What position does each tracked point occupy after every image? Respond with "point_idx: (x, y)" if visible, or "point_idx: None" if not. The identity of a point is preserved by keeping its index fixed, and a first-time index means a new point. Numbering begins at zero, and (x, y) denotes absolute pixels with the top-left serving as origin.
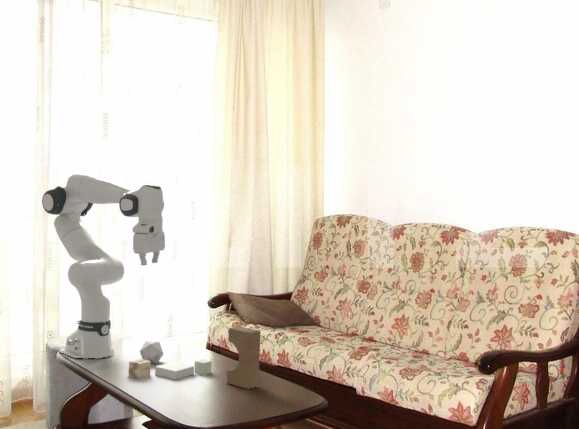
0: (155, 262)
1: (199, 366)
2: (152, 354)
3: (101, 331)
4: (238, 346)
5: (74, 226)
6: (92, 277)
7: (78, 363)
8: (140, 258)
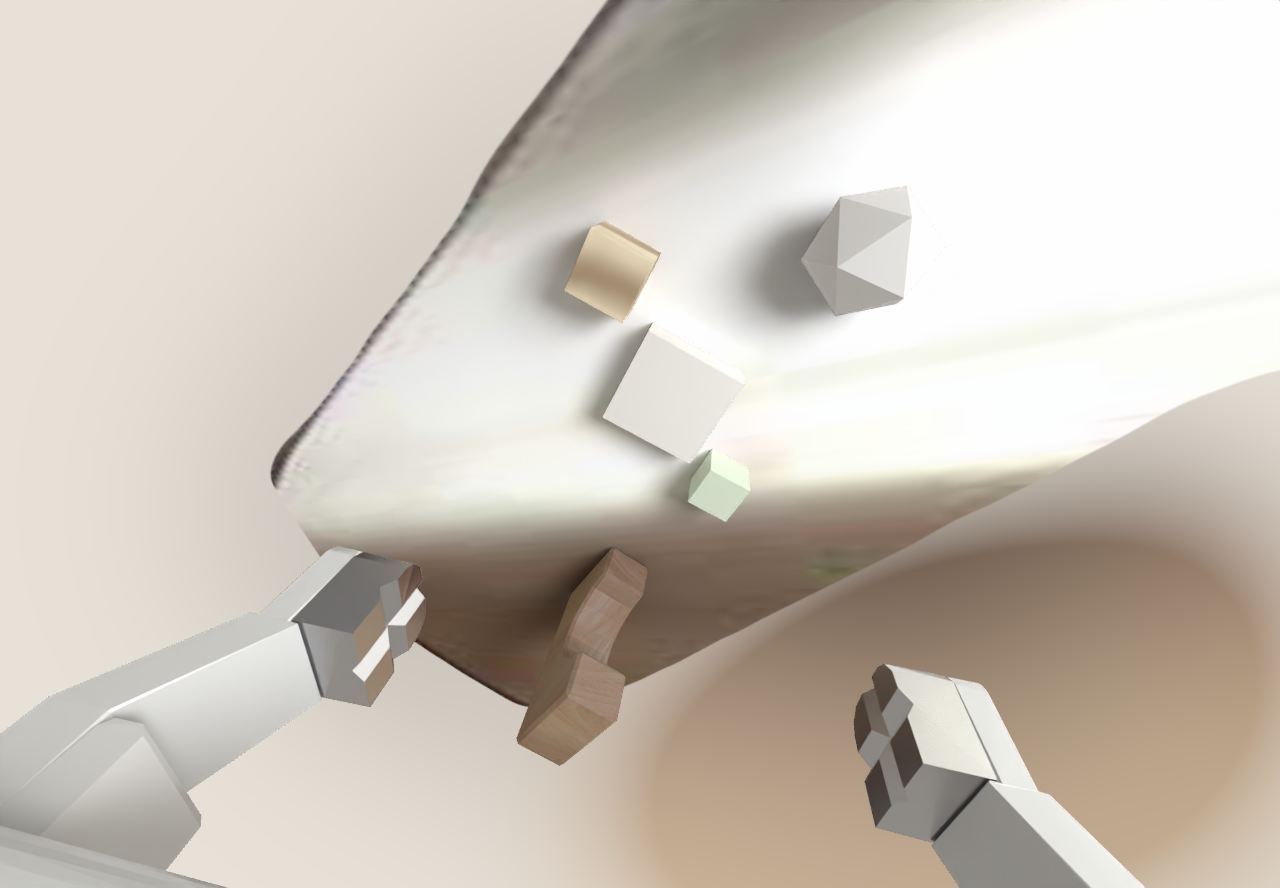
0: (858, 722)
1: (699, 479)
2: (812, 274)
3: None
4: (557, 666)
5: None
6: None
7: None
8: (174, 656)
